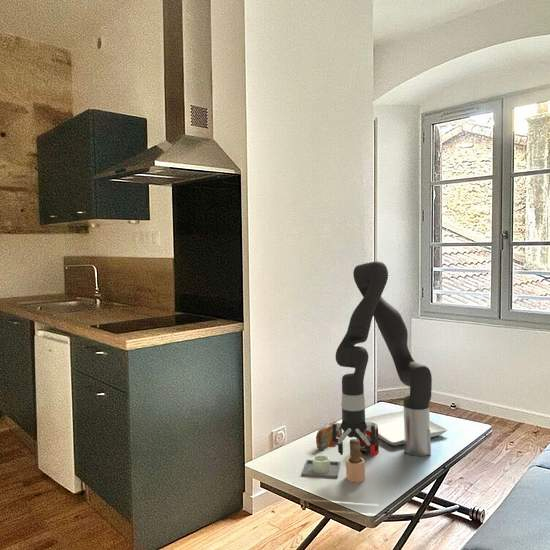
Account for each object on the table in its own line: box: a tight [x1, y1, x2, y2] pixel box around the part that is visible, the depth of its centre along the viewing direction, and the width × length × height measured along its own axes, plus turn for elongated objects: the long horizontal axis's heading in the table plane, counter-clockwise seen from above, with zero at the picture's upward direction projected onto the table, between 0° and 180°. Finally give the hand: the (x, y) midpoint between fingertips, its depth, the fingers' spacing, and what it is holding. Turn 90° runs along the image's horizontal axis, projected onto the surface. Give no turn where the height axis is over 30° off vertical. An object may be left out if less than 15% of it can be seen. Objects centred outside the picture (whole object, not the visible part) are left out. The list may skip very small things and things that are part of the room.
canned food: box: [356, 422, 380, 457], centre depth 184 cm, size 8×8×11 cm
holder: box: [311, 454, 331, 474], centre depth 171 cm, size 6×6×4 cm
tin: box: [315, 422, 343, 451], centre depth 193 cm, size 15×3×8 cm, turn 141°
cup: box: [345, 456, 366, 483], centre depth 164 cm, size 6×6×7 cm
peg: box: [349, 438, 361, 463], centre depth 164 cm, size 3×3×13 cm
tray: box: [301, 459, 341, 479], centre depth 171 cm, size 12×11×2 cm
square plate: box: [365, 410, 448, 447], centre depth 205 cm, size 27×27×4 cm
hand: (354, 454), depth 164 cm, fingers open, 8 cm apart
